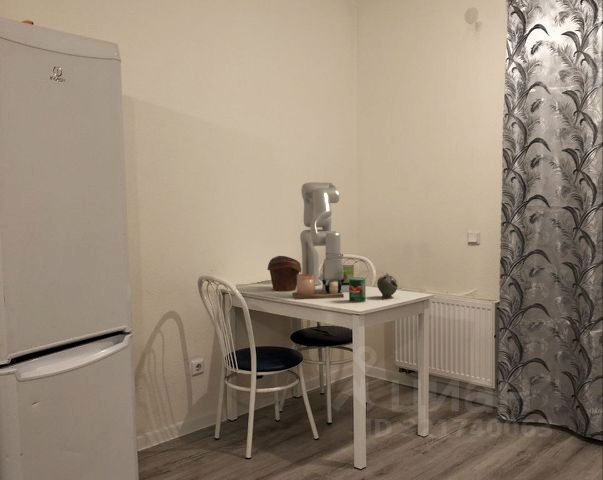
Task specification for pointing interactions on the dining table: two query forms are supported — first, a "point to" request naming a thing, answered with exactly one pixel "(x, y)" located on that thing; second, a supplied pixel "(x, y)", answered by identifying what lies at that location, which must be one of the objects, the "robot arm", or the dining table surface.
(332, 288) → the stopper
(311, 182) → the robot arm
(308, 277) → the jar
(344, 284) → the coffee box
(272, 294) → the dining table surface
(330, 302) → the dining table surface
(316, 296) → the board
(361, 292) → the canned tomato
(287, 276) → the case
